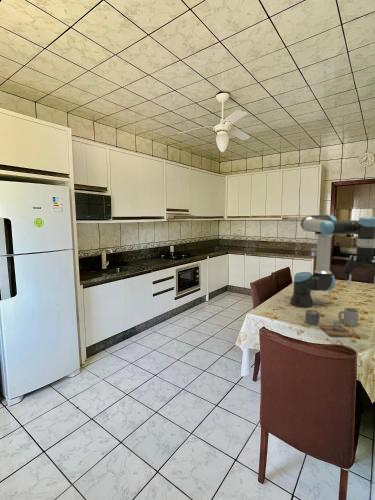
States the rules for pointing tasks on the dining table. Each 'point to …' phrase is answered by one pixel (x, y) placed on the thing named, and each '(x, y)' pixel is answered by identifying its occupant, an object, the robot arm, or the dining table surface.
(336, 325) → the shaft block
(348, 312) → the cup
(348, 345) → the dining table surface
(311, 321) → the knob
